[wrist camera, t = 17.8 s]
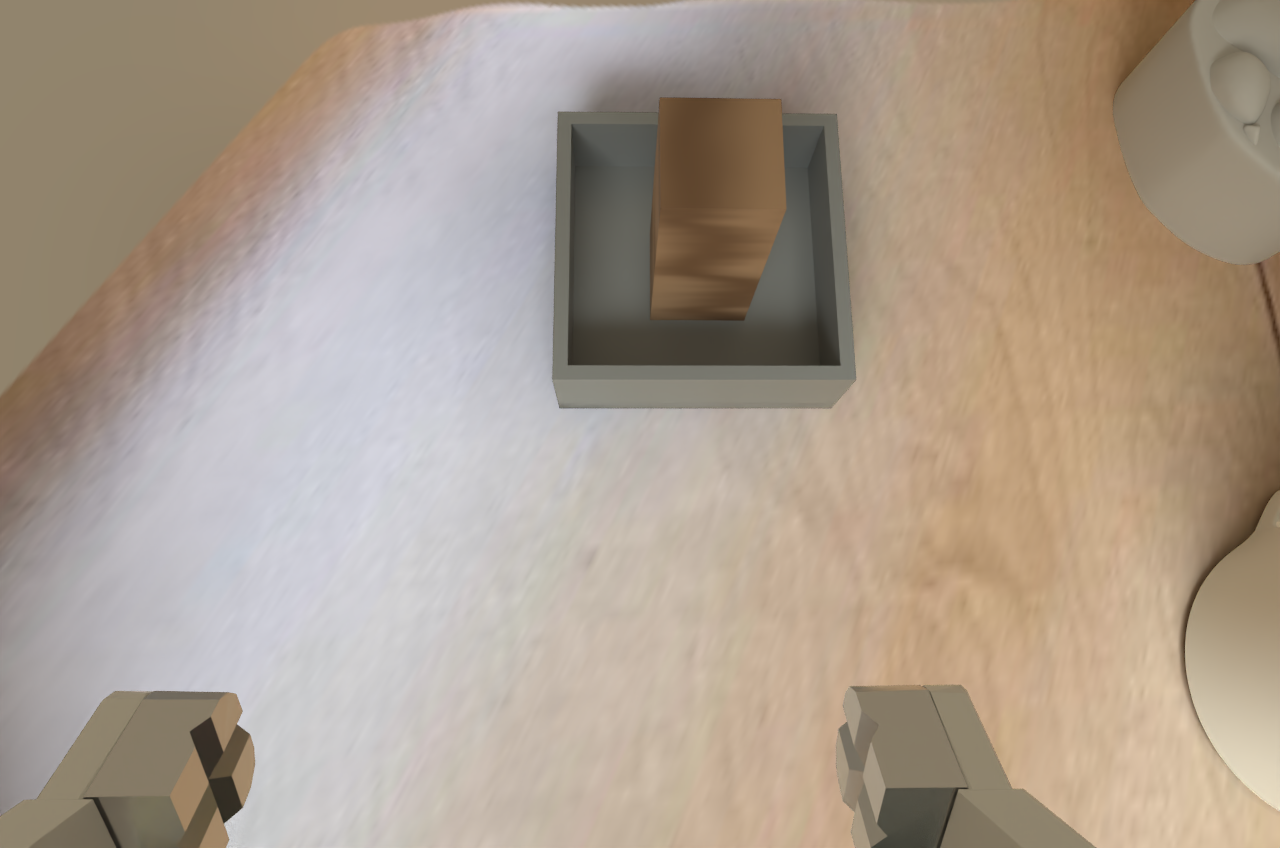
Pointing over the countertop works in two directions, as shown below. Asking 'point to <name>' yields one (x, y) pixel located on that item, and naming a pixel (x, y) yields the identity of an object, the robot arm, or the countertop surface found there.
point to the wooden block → (714, 205)
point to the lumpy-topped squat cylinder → (1209, 129)
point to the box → (695, 349)
